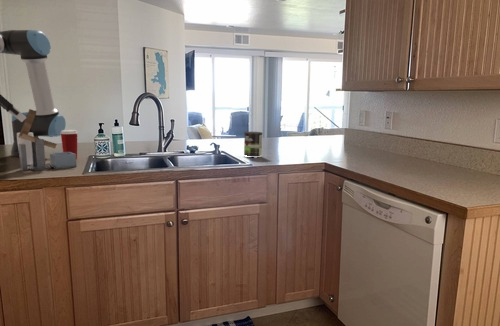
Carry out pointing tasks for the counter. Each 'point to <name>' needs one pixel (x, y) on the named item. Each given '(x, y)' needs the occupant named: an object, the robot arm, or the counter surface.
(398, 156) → the counter surface
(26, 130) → the lever
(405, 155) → the counter surface
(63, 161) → the grey rounded block
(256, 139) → the coffee can
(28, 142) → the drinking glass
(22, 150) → the post
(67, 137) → the coffee cup
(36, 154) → the pivot stand
